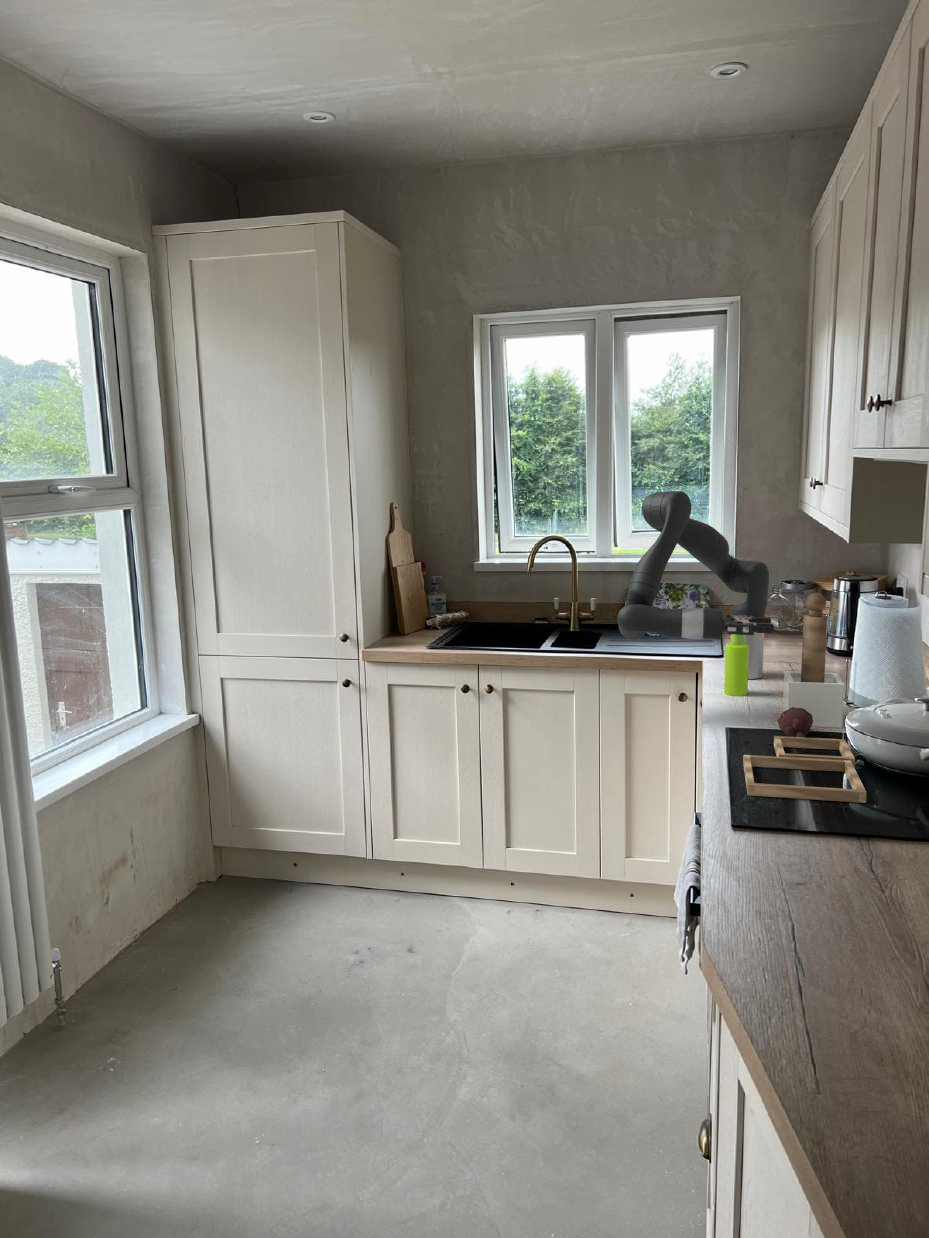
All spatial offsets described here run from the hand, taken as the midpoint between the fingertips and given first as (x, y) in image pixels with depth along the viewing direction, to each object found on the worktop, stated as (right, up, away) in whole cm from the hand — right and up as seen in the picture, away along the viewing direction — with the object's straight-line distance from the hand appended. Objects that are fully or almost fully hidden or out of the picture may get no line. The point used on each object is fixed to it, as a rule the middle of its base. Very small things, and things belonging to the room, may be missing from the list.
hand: (772, 625), depth 216 cm
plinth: (+10, -22, +1) cm, 25 cm away
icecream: (+1, -25, -12) cm, 28 cm away
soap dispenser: (0, -19, +27) cm, 33 cm away
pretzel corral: (-8, -30, -41) cm, 51 cm away
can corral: (0, -27, -26) cm, 37 cm away
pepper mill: (+10, -14, 0) cm, 17 cm away
